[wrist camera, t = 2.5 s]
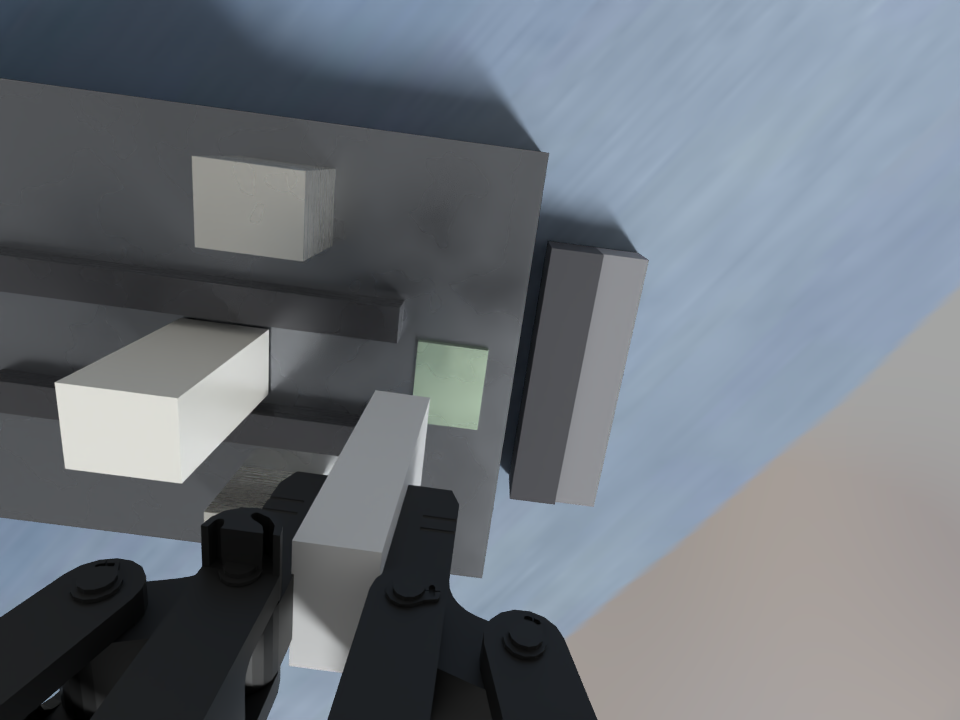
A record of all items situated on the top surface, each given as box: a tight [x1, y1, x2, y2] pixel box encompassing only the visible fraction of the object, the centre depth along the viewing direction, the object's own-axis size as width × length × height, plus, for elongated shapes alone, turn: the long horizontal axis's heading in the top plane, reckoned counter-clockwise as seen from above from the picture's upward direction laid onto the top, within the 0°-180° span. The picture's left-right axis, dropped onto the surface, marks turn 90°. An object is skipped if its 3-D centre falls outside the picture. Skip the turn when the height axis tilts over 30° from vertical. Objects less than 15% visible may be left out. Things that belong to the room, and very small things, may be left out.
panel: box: [0, 78, 549, 578], centre depth 20 cm, size 22×16×6 cm
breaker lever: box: [55, 318, 269, 484], centre depth 18 cm, size 3×2×6 cm
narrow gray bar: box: [509, 241, 649, 507], centre depth 23 cm, size 3×10×2 cm, turn 173°
